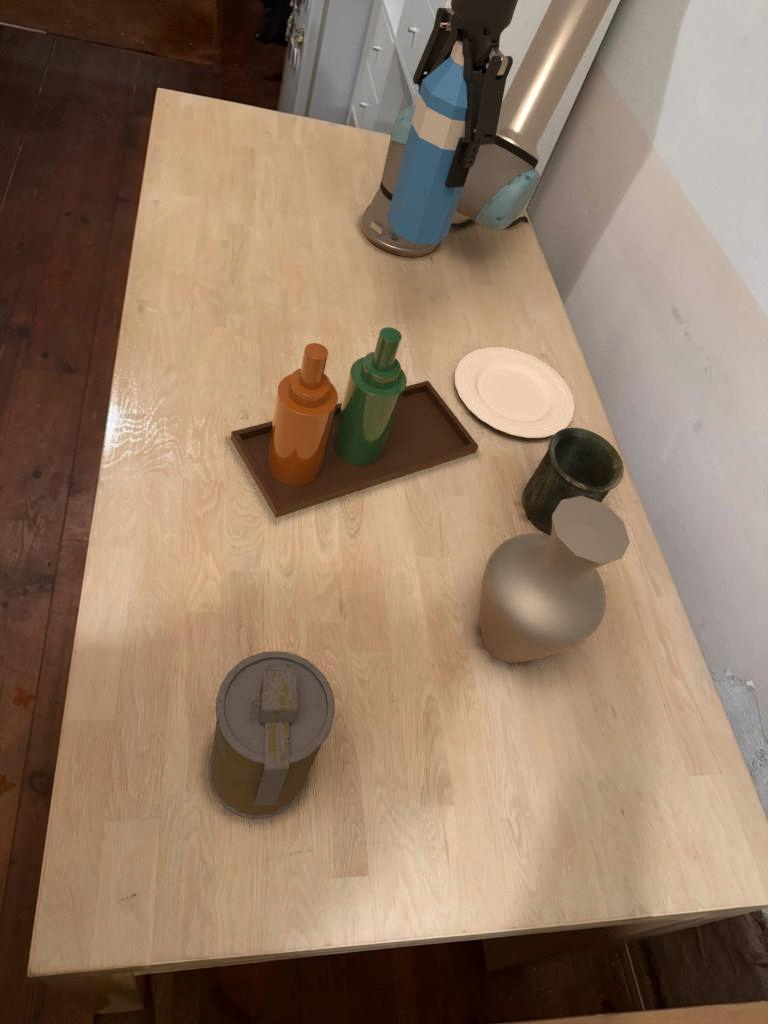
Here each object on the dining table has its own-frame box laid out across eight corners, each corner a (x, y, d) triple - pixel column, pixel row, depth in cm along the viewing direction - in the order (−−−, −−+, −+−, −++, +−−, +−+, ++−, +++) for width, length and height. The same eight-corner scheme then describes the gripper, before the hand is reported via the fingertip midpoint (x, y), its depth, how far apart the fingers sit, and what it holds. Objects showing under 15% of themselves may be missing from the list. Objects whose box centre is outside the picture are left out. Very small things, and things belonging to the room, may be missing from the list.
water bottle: (449, 219, 114) (508, 42, 94) (445, 252, 108) (506, 70, 89) (390, 202, 113) (437, 19, 93) (383, 234, 107) (431, 46, 88)
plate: (583, 390, 129) (588, 382, 127) (551, 465, 116) (556, 457, 114) (476, 337, 131) (479, 329, 129) (432, 406, 118) (435, 397, 116)
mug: (577, 483, 115) (613, 431, 106) (599, 562, 106) (640, 513, 97) (511, 476, 113) (542, 422, 103) (528, 557, 104) (563, 506, 95)
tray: (424, 389, 120) (428, 380, 118) (474, 454, 114) (478, 445, 112) (230, 441, 104) (231, 431, 103) (275, 520, 98) (277, 510, 97)
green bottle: (367, 421, 112) (400, 309, 96) (393, 457, 109) (431, 348, 92) (323, 433, 108) (350, 320, 92) (348, 471, 105) (380, 361, 89)
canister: (211, 719, 81) (220, 635, 65) (306, 720, 83) (337, 638, 67) (205, 825, 74) (213, 759, 59) (308, 822, 77) (343, 758, 61)
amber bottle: (305, 438, 107) (329, 324, 91) (330, 477, 104) (359, 365, 87) (257, 452, 104) (273, 335, 87) (281, 492, 100) (302, 379, 84)
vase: (531, 715, 90) (631, 616, 70) (431, 647, 92) (501, 533, 73) (575, 631, 98) (674, 522, 79) (482, 571, 101) (557, 451, 81)
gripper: (416, -63, 89) (375, 124, 106) (518, 22, 79) (455, 213, 96) (466, -57, 92) (418, 123, 110) (570, 24, 82) (500, 209, 100)
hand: (435, 165), depth 103 cm, fingers closed on water bottle, 9 cm apart
